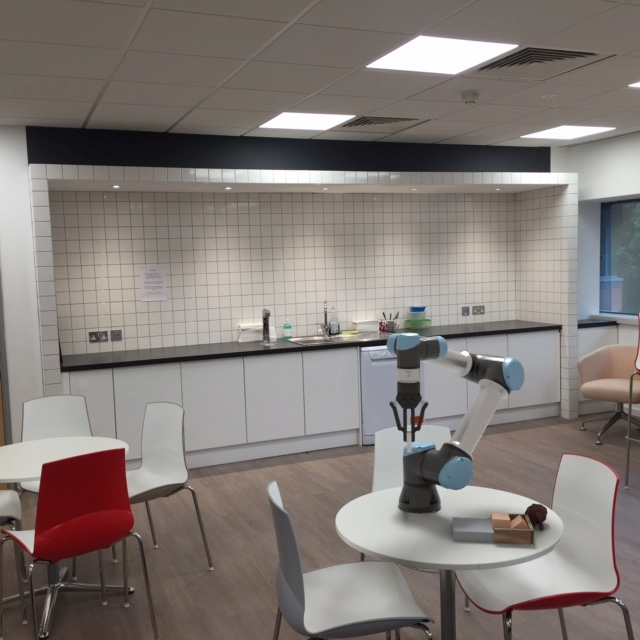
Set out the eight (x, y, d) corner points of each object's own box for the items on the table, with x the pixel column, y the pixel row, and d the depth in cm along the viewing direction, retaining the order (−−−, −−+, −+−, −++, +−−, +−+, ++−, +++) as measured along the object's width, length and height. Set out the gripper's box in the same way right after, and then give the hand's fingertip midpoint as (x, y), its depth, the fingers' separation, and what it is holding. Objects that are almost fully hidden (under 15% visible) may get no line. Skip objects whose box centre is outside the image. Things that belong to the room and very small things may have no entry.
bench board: (452, 525, 235) (452, 517, 235) (490, 527, 233) (490, 518, 233) (453, 540, 223) (453, 531, 223) (494, 541, 222) (494, 532, 221)
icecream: (519, 496, 243) (526, 516, 229) (541, 492, 242) (549, 511, 228) (524, 515, 244) (531, 535, 230) (545, 510, 243) (554, 531, 228)
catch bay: (490, 526, 234) (490, 513, 234) (527, 527, 233) (527, 514, 232) (494, 543, 221) (494, 529, 220) (533, 544, 219) (533, 530, 218)
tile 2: (519, 514, 228) (526, 522, 228) (506, 524, 229) (512, 532, 229) (522, 520, 223) (528, 528, 223) (508, 531, 224) (514, 538, 224)
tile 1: (490, 522, 230) (490, 512, 230) (507, 523, 229) (508, 513, 229) (492, 528, 224) (492, 518, 224) (509, 529, 224) (510, 520, 223)
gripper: (387, 382, 226) (388, 454, 228) (428, 382, 224) (429, 455, 226) (389, 378, 234) (390, 447, 236) (428, 378, 232) (429, 448, 234)
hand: (409, 451), depth 231 cm, fingers closed
